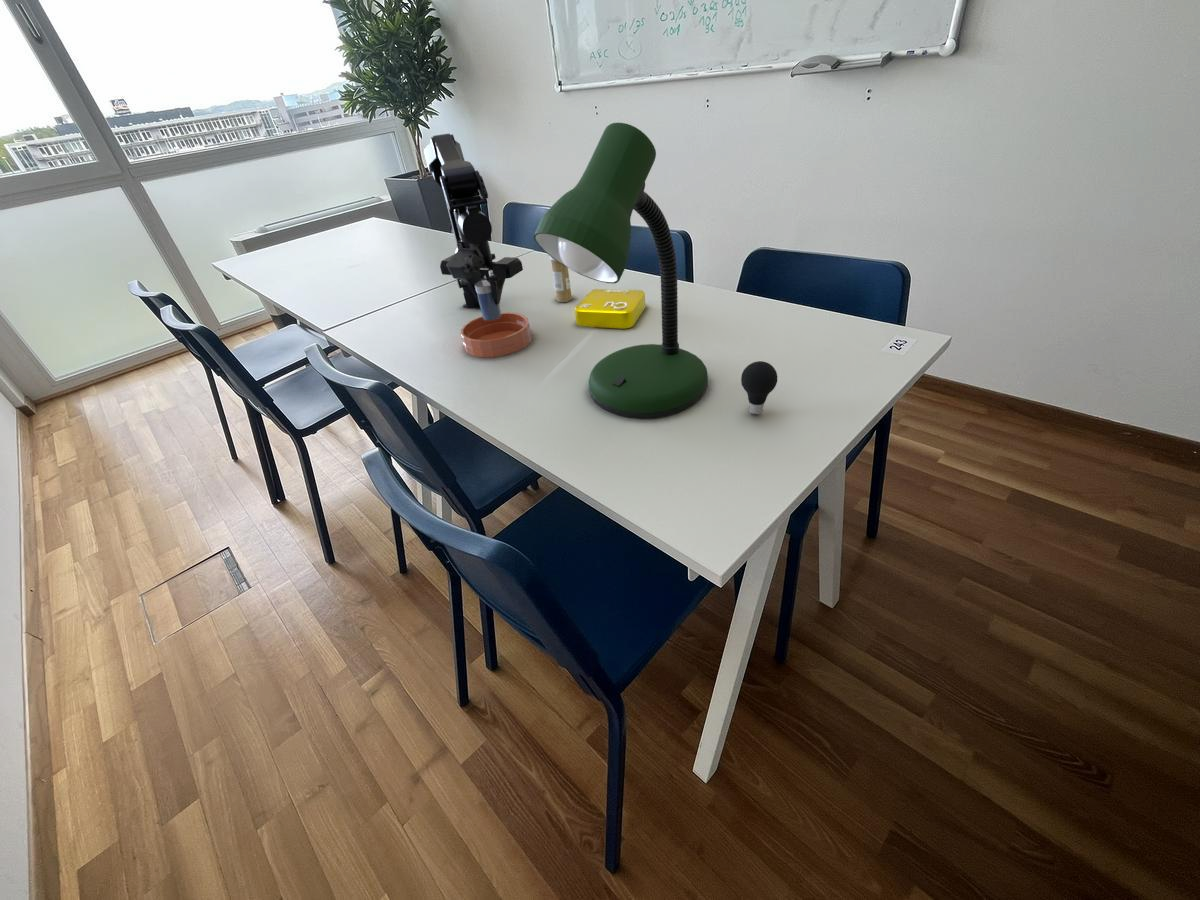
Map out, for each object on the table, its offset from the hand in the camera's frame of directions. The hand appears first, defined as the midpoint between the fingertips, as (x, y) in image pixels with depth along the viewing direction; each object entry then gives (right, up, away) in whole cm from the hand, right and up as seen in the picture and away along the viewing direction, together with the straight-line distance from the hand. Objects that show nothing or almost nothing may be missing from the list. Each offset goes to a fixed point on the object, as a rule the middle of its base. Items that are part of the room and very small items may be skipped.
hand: (489, 303), depth 119 cm
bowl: (+1, -8, +6) cm, 10 cm away
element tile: (+29, 0, +13) cm, 31 cm away
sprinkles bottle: (+16, +8, +25) cm, 31 cm away
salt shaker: (0, -3, +2) cm, 3 cm away
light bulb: (+53, -28, -28) cm, 66 cm away
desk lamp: (+32, -24, -19) cm, 45 cm away
